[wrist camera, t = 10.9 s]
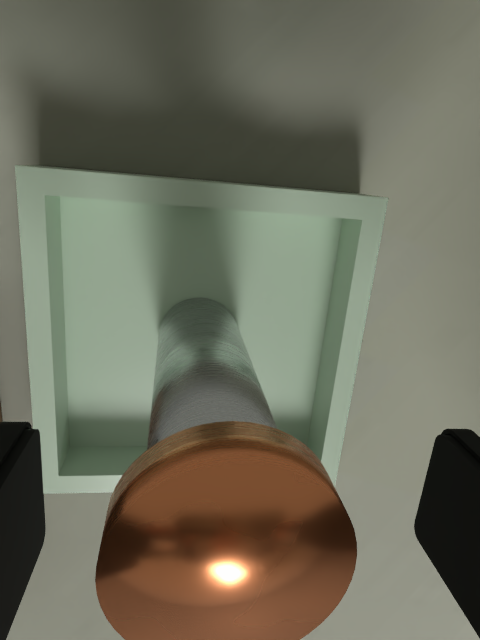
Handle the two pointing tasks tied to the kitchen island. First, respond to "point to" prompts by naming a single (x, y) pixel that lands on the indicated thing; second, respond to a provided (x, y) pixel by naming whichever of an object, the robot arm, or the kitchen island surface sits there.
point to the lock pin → (220, 504)
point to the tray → (178, 285)
